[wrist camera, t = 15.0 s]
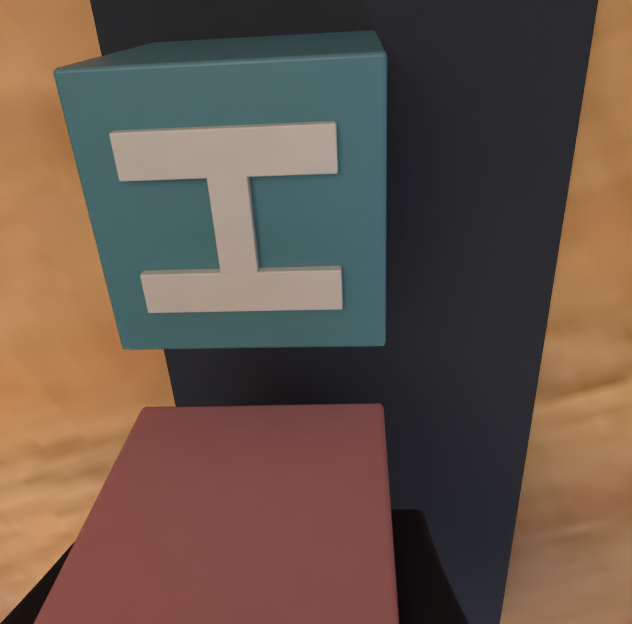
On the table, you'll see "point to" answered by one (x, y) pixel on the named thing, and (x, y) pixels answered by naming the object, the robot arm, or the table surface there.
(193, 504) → the block
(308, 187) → the block
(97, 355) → the table surface
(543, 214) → the word mat
